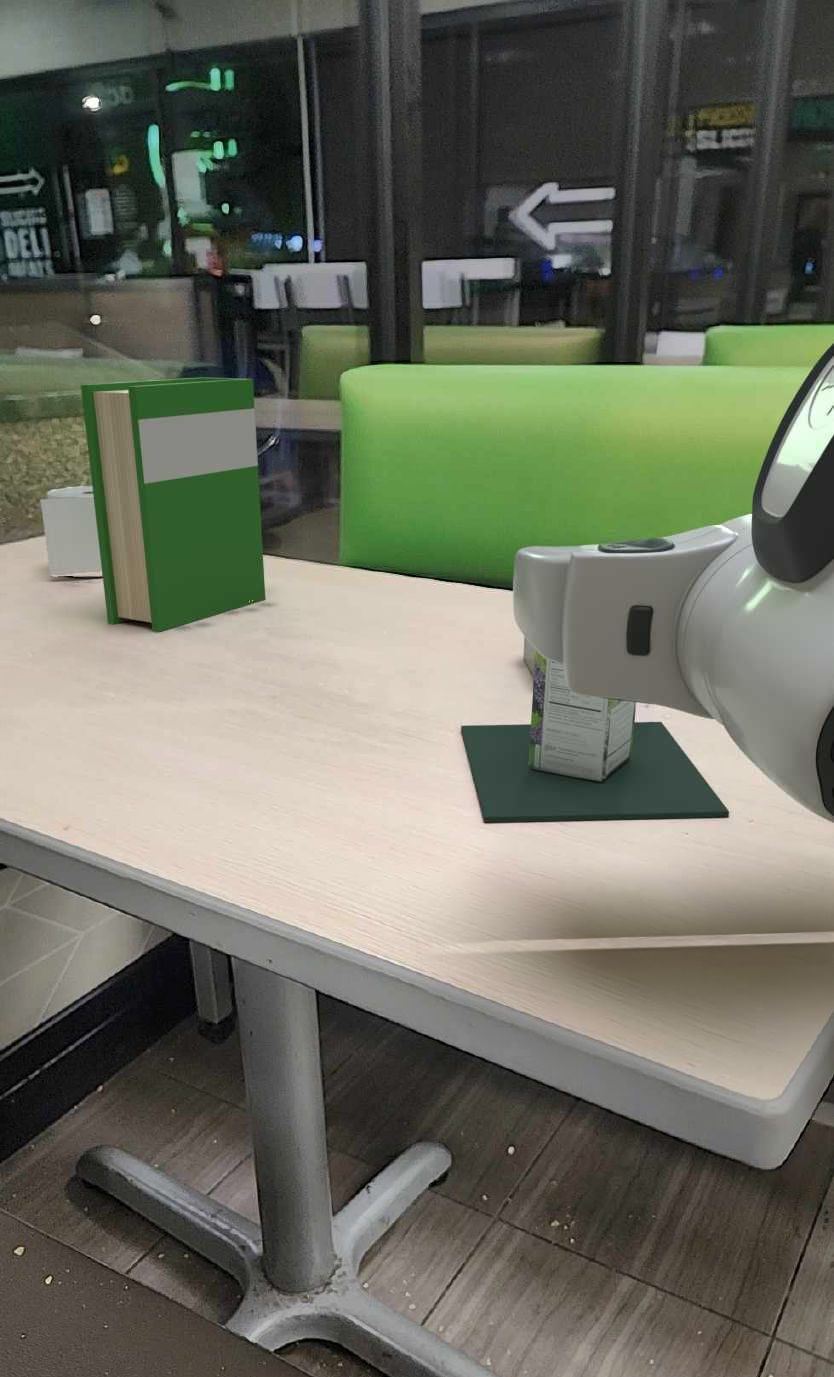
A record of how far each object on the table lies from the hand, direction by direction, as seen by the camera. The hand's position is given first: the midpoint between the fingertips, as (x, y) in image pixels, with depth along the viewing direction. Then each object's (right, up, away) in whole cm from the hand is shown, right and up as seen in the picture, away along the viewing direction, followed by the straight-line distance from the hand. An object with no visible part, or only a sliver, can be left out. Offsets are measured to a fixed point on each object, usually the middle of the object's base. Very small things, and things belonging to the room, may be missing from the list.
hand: (682, 558), depth 62 cm
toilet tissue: (-56, +18, +85) cm, 103 cm away
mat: (-3, -11, +19) cm, 22 cm away
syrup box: (-3, -11, +19) cm, 22 cm away
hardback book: (-40, +9, +65) cm, 77 cm away
